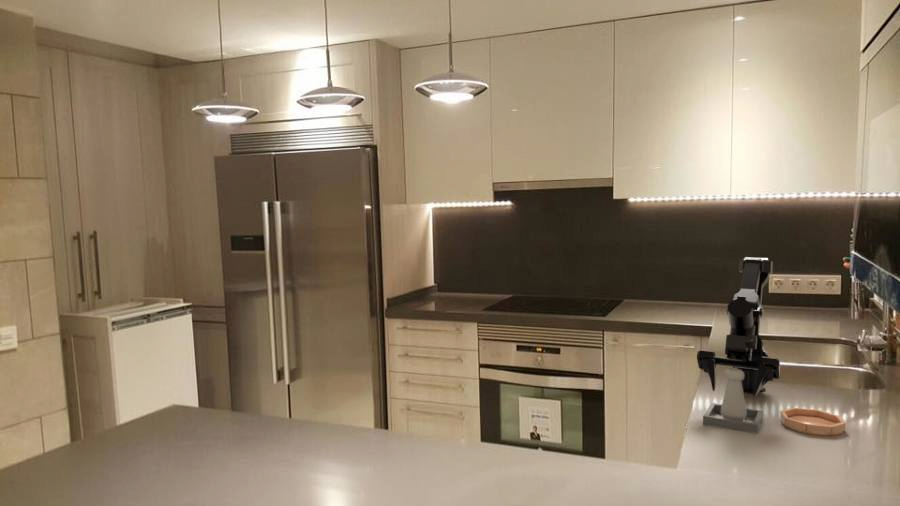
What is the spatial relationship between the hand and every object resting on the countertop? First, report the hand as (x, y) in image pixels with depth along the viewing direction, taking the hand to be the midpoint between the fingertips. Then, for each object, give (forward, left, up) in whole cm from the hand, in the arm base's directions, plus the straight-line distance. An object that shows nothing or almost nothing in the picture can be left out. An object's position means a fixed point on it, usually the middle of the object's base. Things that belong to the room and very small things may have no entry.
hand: (733, 393), depth 153 cm
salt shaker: (-1, -1, -8) cm, 8 cm away
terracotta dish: (-15, +10, -7) cm, 20 cm away
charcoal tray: (-1, -1, -7) cm, 8 cm away
